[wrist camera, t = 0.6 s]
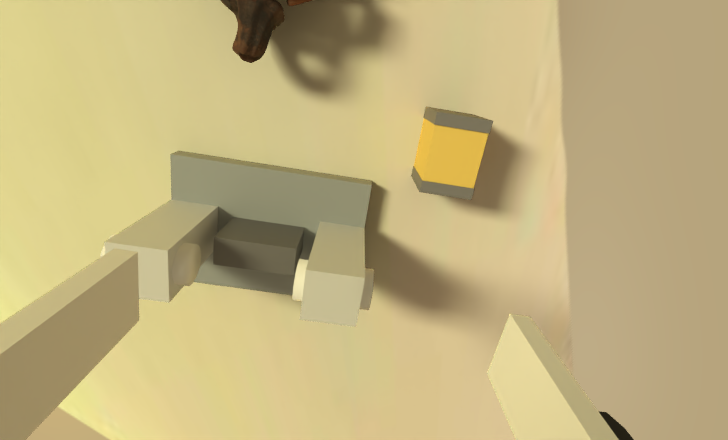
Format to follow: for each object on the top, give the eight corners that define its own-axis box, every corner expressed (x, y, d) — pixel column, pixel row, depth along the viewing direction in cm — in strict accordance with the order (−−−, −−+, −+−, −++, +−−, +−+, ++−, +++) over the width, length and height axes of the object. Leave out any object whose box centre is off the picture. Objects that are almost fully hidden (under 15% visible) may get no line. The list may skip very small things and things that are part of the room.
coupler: (411, 175, 33) (419, 191, 28) (425, 106, 31) (437, 111, 26) (456, 182, 33) (471, 200, 29) (473, 114, 31) (493, 120, 27)
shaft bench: (170, 149, 32) (85, 180, 22) (379, 182, 33) (386, 225, 24) (173, 270, 37) (103, 340, 27) (359, 295, 38) (357, 372, 28)
